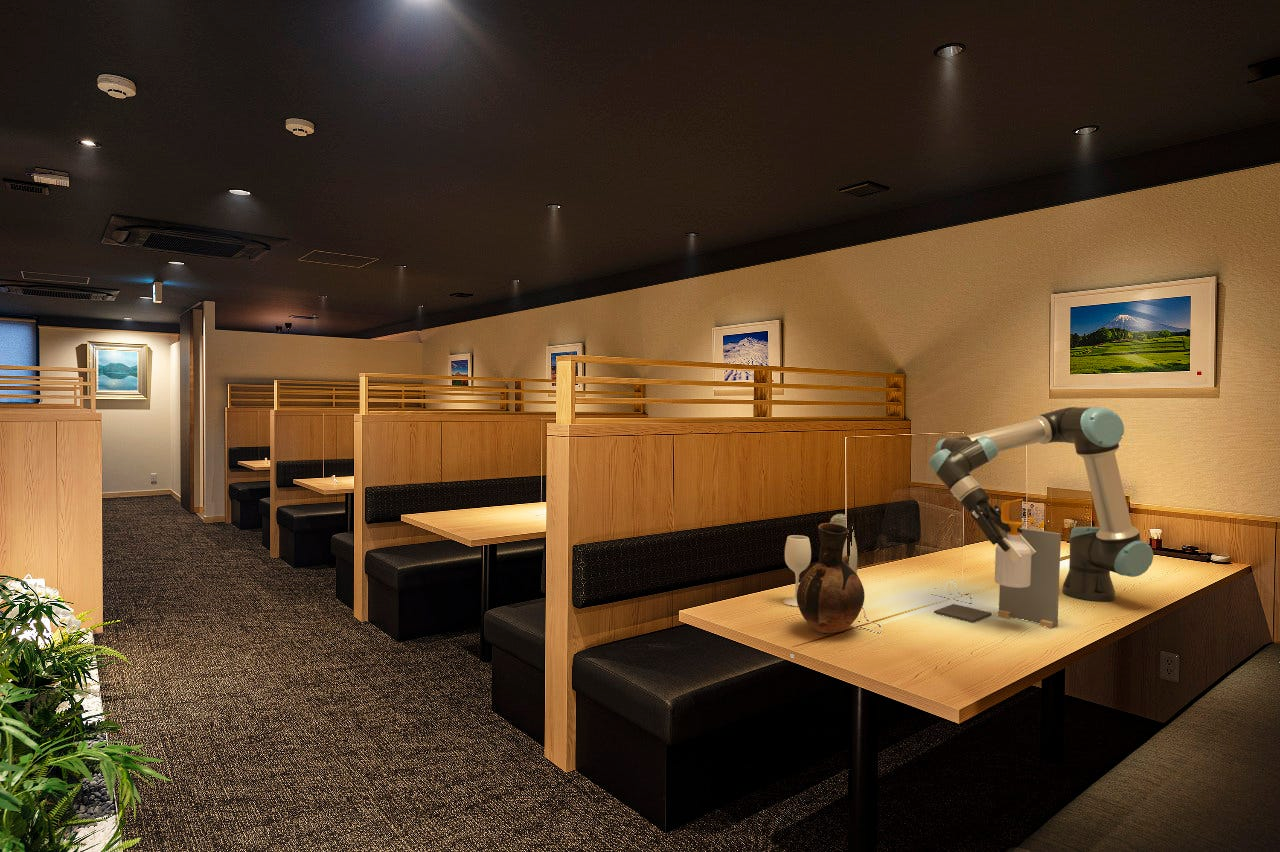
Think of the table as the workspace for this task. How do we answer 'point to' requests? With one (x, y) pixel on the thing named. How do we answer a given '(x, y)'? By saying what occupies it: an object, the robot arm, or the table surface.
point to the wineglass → (797, 559)
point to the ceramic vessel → (831, 585)
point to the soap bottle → (1004, 567)
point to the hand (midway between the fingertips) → (1024, 557)
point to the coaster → (963, 613)
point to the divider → (1036, 582)
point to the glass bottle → (841, 520)
